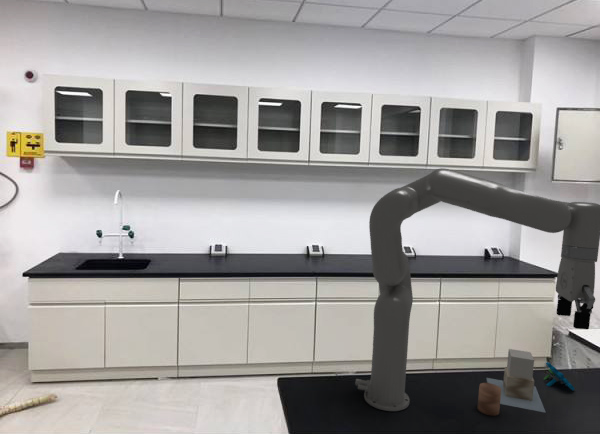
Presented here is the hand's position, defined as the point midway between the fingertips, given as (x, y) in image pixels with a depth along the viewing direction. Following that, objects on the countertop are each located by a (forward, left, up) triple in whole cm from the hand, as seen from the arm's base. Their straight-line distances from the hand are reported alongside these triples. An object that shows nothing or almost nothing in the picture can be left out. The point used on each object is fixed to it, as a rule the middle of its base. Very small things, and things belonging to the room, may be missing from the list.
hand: (571, 321), depth 109 cm
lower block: (-7, +18, -29) cm, 35 cm away
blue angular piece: (+6, +29, -30) cm, 42 cm away
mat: (-8, +17, -30) cm, 35 cm away
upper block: (-7, +18, -23) cm, 30 cm away
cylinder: (-16, +4, -30) cm, 34 cm away
